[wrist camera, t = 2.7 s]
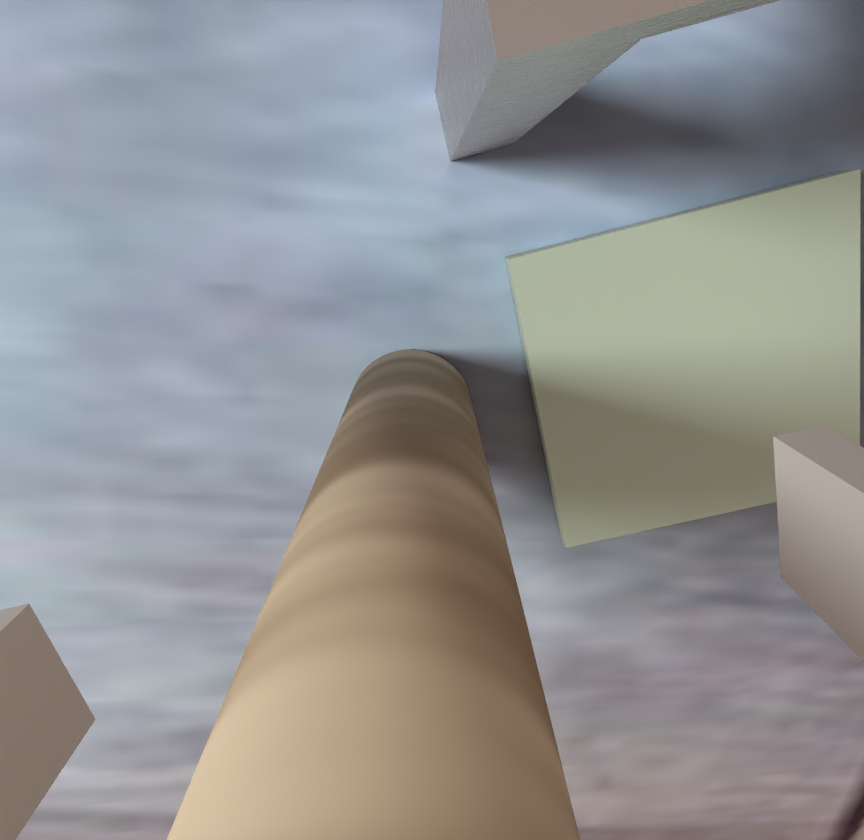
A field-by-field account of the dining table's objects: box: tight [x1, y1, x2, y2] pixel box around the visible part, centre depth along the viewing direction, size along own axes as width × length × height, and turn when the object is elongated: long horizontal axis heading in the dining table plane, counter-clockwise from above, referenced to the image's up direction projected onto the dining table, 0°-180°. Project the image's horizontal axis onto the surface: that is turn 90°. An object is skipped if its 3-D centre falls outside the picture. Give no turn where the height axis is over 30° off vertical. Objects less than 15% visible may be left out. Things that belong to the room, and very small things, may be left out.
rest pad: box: [505, 169, 861, 548], centre depth 18 cm, size 10×10×1 cm
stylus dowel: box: [167, 349, 580, 840], centre depth 11 cm, size 4×4×18 cm
